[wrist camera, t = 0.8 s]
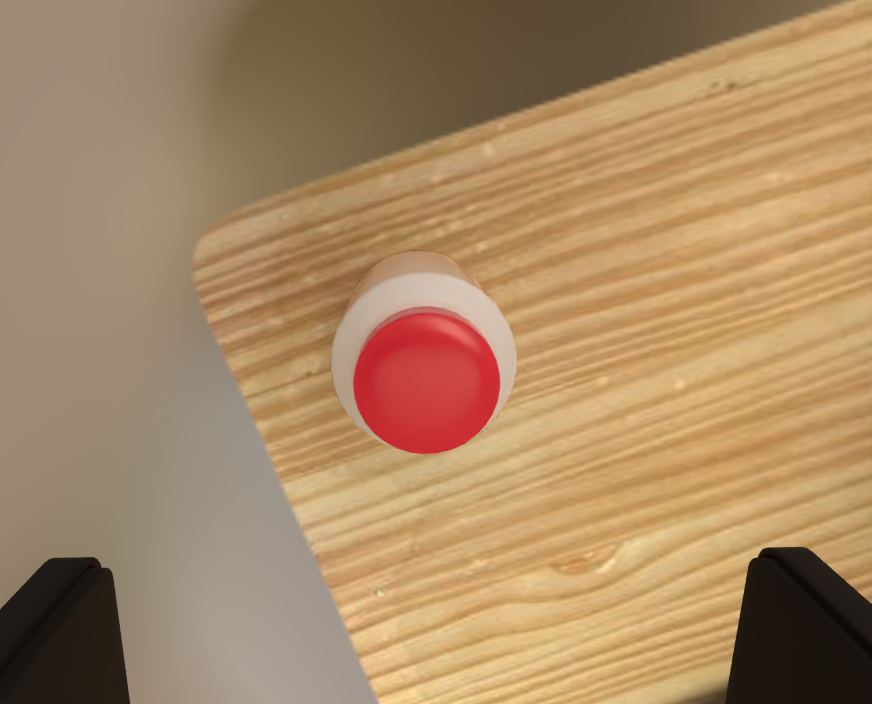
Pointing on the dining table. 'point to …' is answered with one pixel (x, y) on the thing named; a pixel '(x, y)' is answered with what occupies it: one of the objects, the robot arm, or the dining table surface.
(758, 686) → the robot arm
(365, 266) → the dining table surface
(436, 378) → the pill bottle
